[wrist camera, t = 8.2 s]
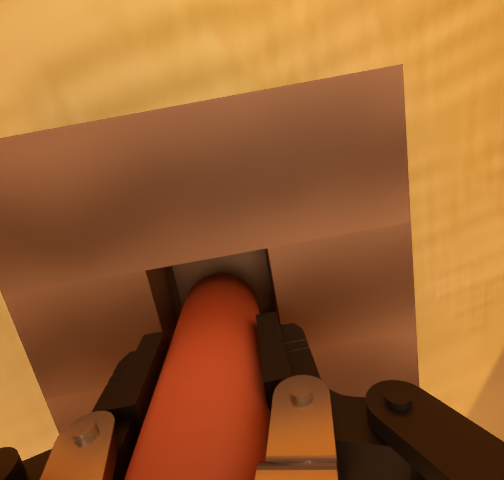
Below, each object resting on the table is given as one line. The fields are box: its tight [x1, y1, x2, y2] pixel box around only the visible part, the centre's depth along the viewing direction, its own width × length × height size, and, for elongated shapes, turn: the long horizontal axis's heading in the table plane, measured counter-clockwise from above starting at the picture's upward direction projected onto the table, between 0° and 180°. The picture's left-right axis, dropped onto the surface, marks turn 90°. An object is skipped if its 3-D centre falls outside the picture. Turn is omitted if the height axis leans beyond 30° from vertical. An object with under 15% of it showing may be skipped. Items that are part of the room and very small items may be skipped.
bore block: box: [0, 64, 419, 434], centre depth 16 cm, size 16×16×5 cm
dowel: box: [124, 274, 271, 480], centre depth 10 cm, size 3×3×10 cm
